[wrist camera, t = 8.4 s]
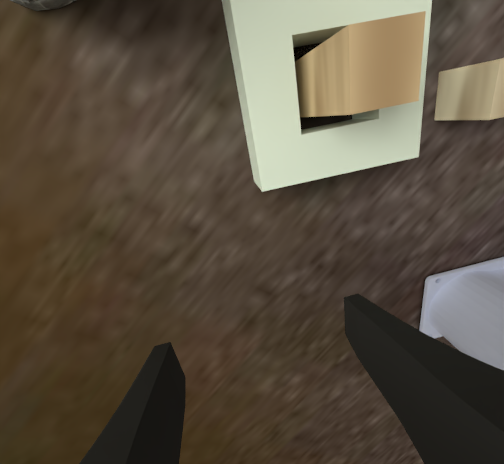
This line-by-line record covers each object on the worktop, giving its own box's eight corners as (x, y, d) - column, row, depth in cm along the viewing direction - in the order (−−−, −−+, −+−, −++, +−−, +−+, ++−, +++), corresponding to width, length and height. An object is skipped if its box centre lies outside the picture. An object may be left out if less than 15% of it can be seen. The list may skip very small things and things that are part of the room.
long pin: (338, 55, 16) (425, 11, 10) (340, 108, 17) (418, 100, 11) (291, 64, 16) (348, 24, 9) (296, 117, 17) (350, 114, 11)
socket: (394, -29, 15) (437, -63, 12) (387, 152, 19) (418, 156, 16) (221, 0, 14) (225, -30, 11) (254, 181, 18) (262, 191, 15)
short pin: (479, 63, 17) (551, 48, 14) (472, 112, 19) (536, 109, 15) (438, 72, 17) (500, 58, 14) (433, 120, 18) (489, 120, 15)
